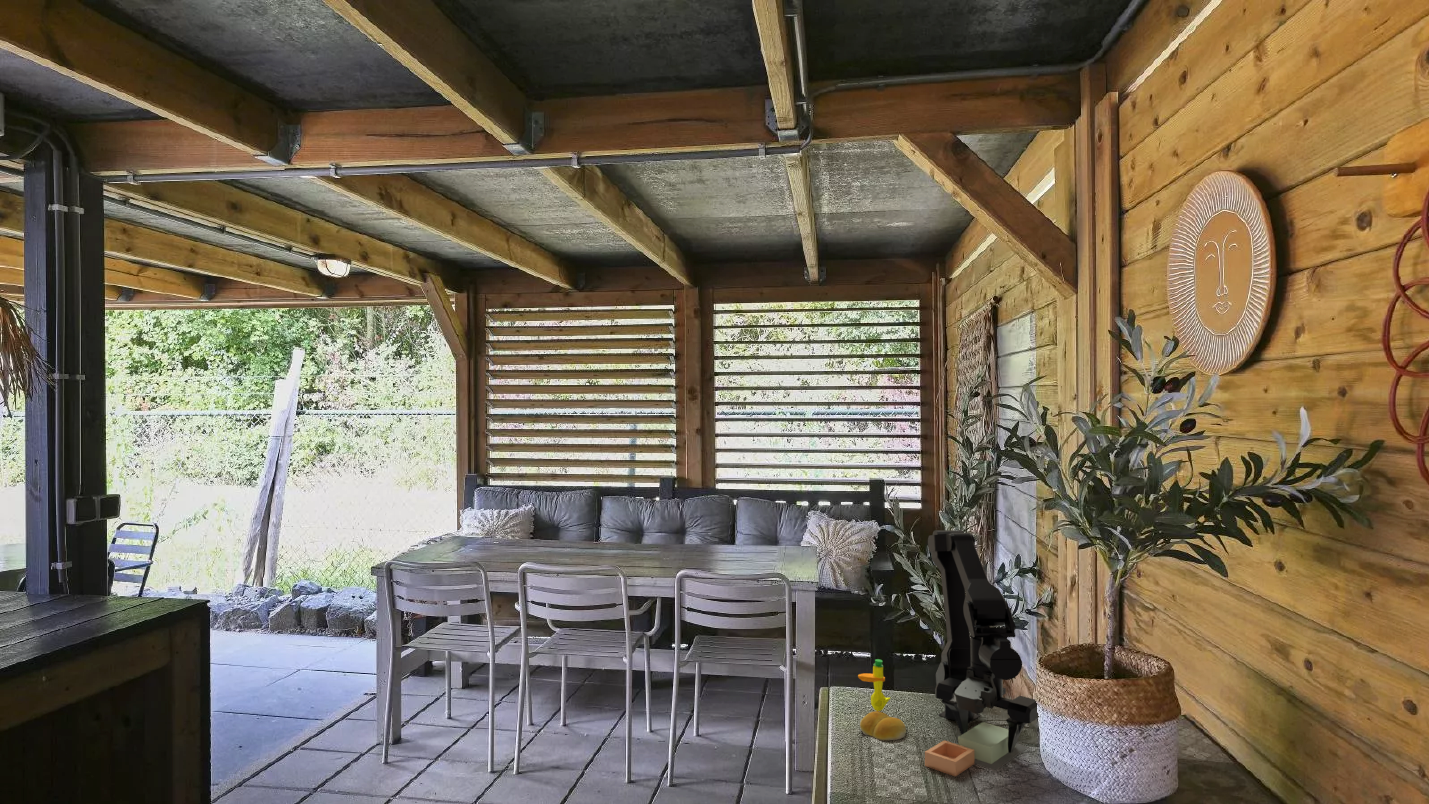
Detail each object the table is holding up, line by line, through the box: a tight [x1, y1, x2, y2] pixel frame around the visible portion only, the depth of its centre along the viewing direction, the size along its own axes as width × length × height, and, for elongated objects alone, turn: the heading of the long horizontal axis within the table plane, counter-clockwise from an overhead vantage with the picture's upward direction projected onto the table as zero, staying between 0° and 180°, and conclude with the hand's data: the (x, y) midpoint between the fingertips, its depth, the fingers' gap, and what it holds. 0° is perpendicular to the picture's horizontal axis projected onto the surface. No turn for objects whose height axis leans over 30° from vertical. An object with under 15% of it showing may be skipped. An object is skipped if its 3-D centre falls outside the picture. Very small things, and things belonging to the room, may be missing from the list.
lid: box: [957, 721, 1016, 764], centre depth 149 cm, size 10×6×3 cm, turn 135°
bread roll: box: [859, 710, 907, 741], centre depth 159 cm, size 8×9×4 cm
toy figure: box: [857, 658, 891, 712], centre depth 167 cm, size 7×4×12 cm, turn 76°
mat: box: [974, 742, 1030, 772], centre depth 149 cm, size 14×10×1 cm
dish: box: [924, 739, 975, 777], centre depth 143 cm, size 7×6×3 cm
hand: (987, 744), depth 149 cm, fingers open, 9 cm apart
